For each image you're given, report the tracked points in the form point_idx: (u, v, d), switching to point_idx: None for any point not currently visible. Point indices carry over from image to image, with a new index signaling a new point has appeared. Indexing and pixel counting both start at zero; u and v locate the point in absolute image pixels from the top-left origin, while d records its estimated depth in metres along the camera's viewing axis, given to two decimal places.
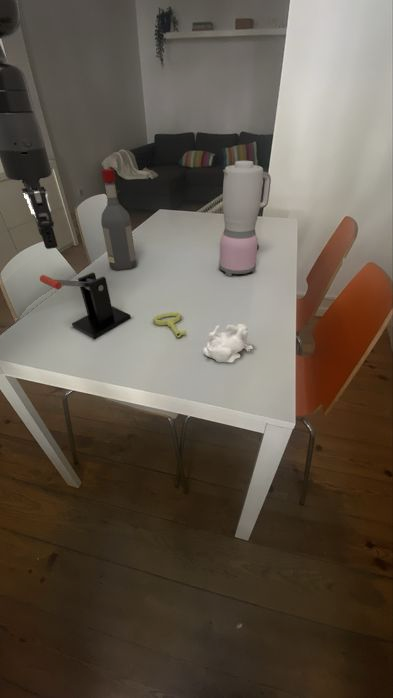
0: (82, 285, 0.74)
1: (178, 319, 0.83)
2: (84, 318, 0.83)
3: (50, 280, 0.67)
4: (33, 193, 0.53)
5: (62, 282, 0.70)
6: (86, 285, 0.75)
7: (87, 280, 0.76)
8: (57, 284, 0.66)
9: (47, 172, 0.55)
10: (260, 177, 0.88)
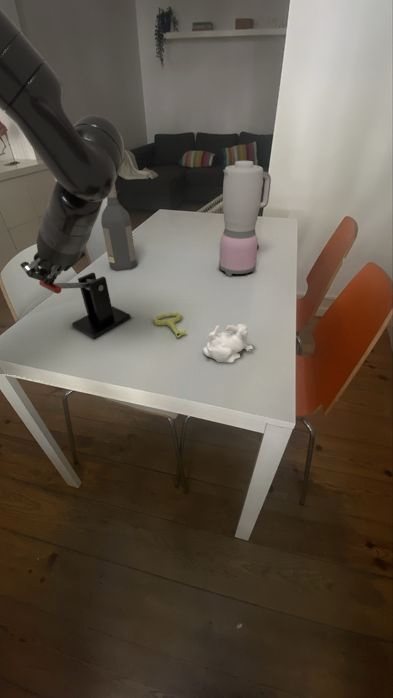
0: (82, 286, 0.74)
1: (178, 319, 0.83)
2: (84, 318, 0.83)
3: None
4: None
5: (62, 285, 0.70)
6: (86, 286, 0.75)
7: (87, 280, 0.76)
8: (57, 288, 0.67)
9: (57, 263, 0.56)
10: (260, 177, 0.88)
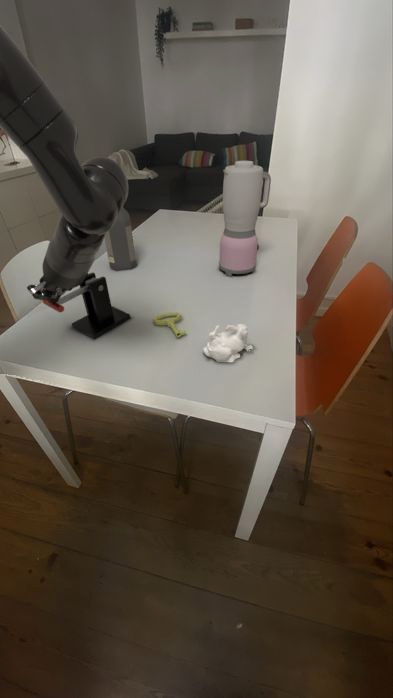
0: (83, 292, 0.75)
1: (178, 319, 0.83)
2: (84, 318, 0.83)
3: (52, 305, 0.70)
4: (29, 291, 0.59)
5: (63, 300, 0.72)
6: (87, 289, 0.75)
7: (86, 283, 0.76)
8: (59, 308, 0.69)
9: (62, 286, 0.58)
10: (260, 177, 0.88)
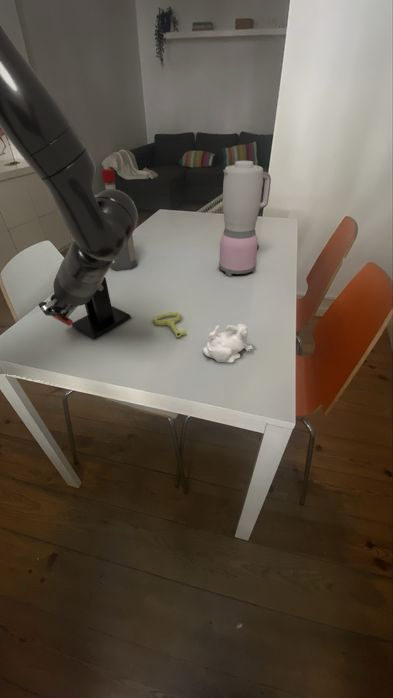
0: None
1: (178, 319, 0.83)
2: (84, 318, 0.83)
3: (61, 319, 0.73)
4: (40, 307, 0.62)
5: (70, 310, 0.74)
6: None
7: None
8: (68, 322, 0.72)
9: (72, 304, 0.61)
10: (260, 177, 0.88)
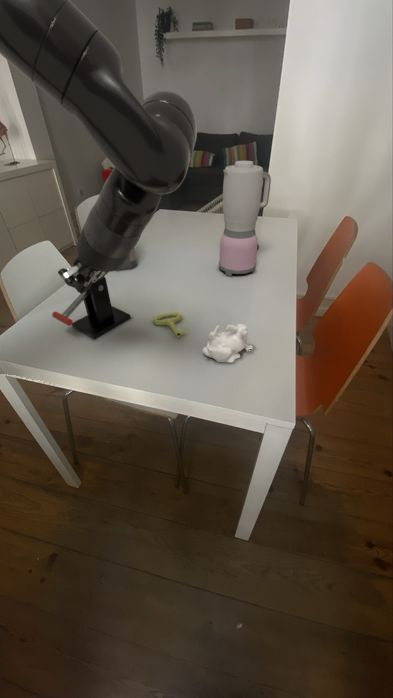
0: (85, 296, 0.76)
1: (178, 319, 0.83)
2: (84, 318, 0.83)
3: (61, 320, 0.73)
4: None
5: (70, 310, 0.74)
6: (88, 292, 0.76)
7: None
8: (68, 322, 0.72)
9: (100, 269, 0.49)
10: (260, 177, 0.88)
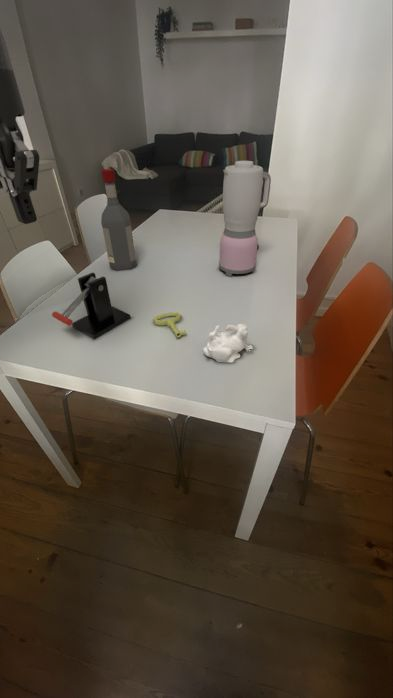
0: (85, 296, 0.76)
1: (178, 319, 0.83)
2: (84, 318, 0.83)
3: (61, 320, 0.73)
4: (26, 158, 0.39)
5: (70, 310, 0.74)
6: (88, 292, 0.76)
7: (86, 286, 0.76)
8: (68, 322, 0.72)
9: (22, 108, 0.39)
10: (260, 177, 0.88)
